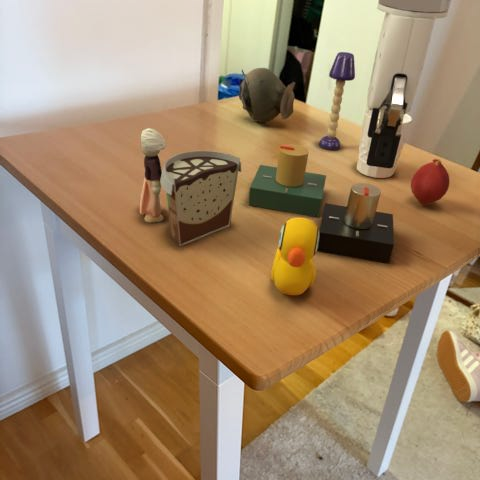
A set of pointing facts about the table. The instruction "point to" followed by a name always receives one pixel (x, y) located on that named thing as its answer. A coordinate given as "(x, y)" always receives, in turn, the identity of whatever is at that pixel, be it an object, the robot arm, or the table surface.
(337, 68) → the toy lamp
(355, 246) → the panel
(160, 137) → the grandmother figurine
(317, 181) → the panel
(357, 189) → the dial
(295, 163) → the dial
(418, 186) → the onion
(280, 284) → the duckling
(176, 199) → the food container
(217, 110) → the table surface
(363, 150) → the white cup
